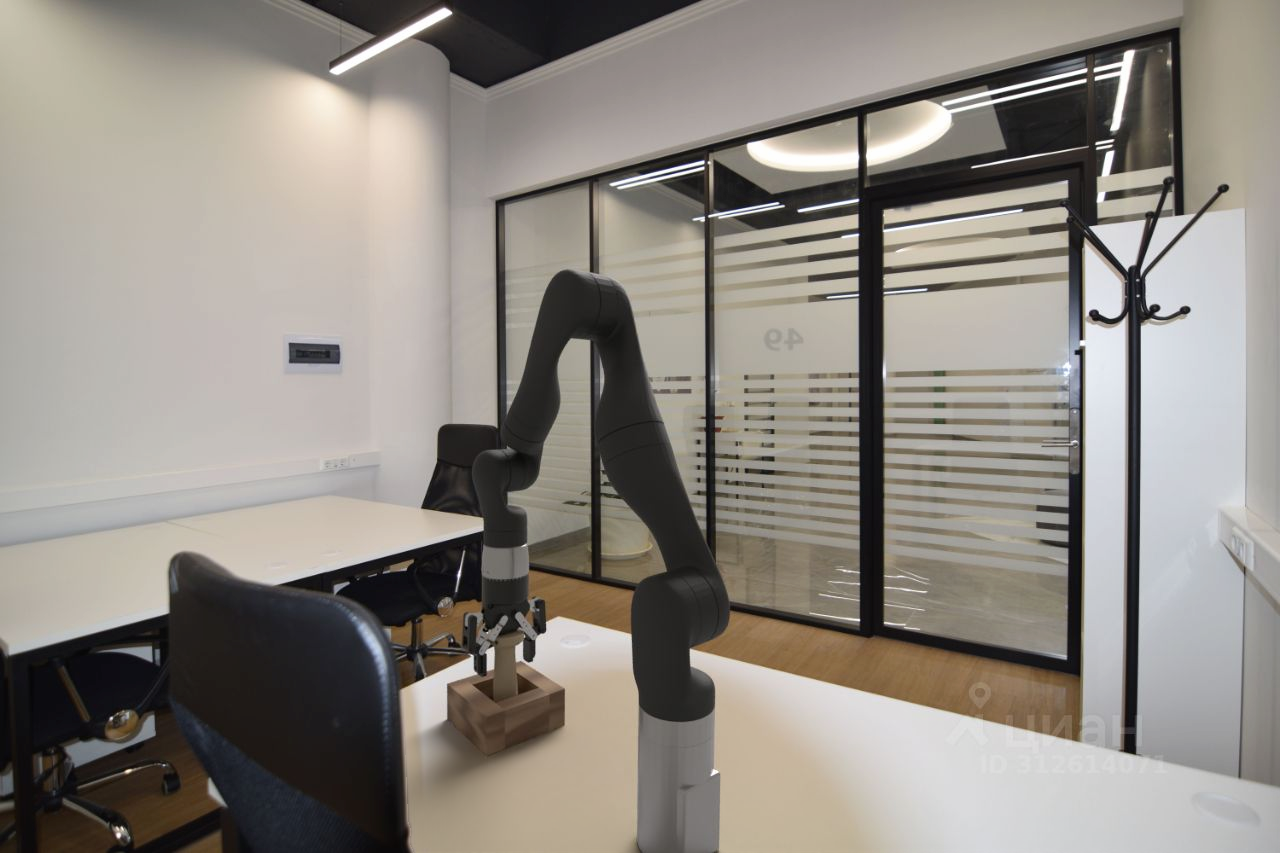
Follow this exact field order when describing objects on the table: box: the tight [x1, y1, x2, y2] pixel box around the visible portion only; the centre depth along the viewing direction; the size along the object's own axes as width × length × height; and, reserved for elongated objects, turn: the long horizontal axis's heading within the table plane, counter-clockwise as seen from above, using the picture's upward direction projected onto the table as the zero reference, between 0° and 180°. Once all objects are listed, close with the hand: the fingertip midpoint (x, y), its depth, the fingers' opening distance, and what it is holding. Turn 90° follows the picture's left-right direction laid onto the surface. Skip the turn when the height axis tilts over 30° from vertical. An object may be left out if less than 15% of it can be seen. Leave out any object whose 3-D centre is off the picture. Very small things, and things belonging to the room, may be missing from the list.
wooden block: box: [446, 660, 566, 757], centre depth 103 cm, size 14×14×6 cm
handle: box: [488, 628, 525, 703], centre depth 103 cm, size 5×6×15 cm
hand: (505, 667), depth 103 cm, fingers open, 8 cm apart
